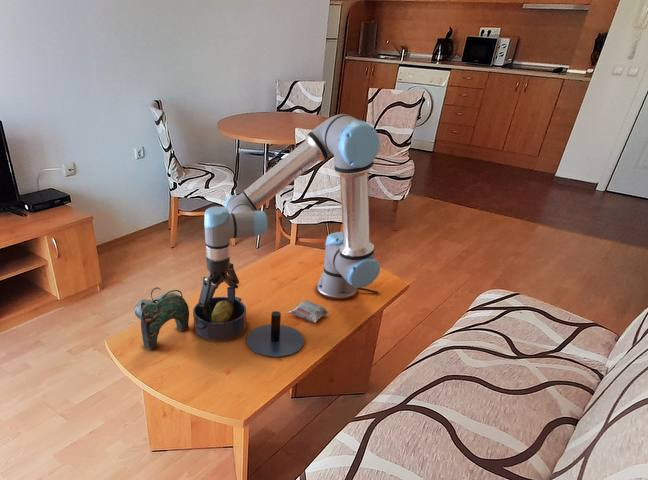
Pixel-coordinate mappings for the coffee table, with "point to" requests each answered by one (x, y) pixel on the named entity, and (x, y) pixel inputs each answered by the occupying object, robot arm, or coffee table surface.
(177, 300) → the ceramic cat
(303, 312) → the packaged food
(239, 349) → the coffee table surface
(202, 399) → the coffee table surface
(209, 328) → the pot
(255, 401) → the coffee table surface
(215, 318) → the potato
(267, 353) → the lid
